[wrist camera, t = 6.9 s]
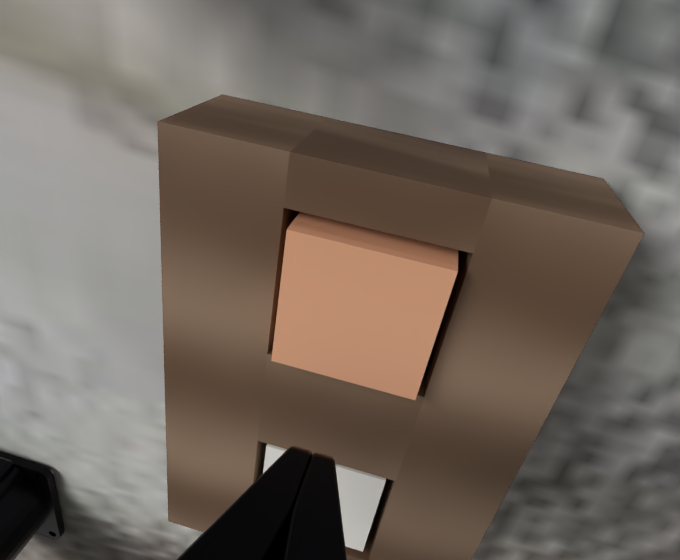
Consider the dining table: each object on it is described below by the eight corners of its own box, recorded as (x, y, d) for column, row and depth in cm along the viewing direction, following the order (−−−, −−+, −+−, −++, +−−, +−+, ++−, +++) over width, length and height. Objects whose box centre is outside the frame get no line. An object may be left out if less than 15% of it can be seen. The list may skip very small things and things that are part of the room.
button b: (423, 331, 18) (415, 400, 15) (303, 300, 18) (271, 360, 15) (459, 217, 15) (457, 271, 12) (320, 185, 16) (286, 229, 13)
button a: (376, 479, 23) (362, 551, 20) (283, 452, 23) (256, 519, 20) (397, 410, 21) (385, 480, 18) (294, 381, 21) (266, 445, 18)
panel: (448, 520, 24) (445, 608, 20) (209, 449, 25) (168, 520, 22) (603, 178, 15) (644, 233, 12) (222, 94, 16) (157, 121, 13)
